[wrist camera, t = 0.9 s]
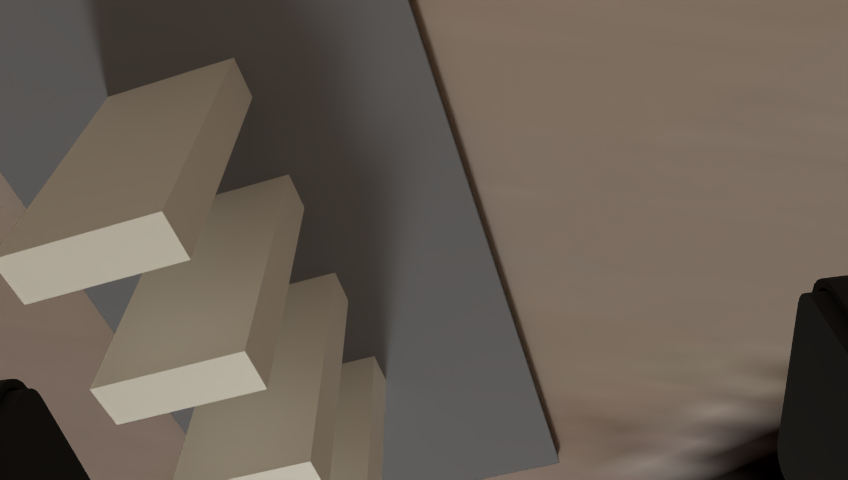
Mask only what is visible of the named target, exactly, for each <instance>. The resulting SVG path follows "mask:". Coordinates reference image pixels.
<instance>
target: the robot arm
mask: <svg viewBox="0 0 848 480" xmlns="http://www.w3.org/2000/svg"><path fill="white" fill-rule="evenodd" d="M777 450H778V459H779V464H780V467H781V471H782V473H783V476H784V478H785V480H848V275H847V276H839V277H830V278H822V279H819V280H817V281H816V283H815V284H814V287H813V291H812V292H811V293H804V294H802V295H801V296H800V298H799V302H798V308H797V315H796V321H795V328H794V335H793V342H792V349H791V356H790V362H789V369H788V376H787V383H786V390H785V396H784V403H783V410H782V417H781V424H780V431H779V437H778V446H777ZM0 480H90V478H89V477H88V475H87V473H86V472H85V470H84V468H83V467H82V465H81V463H80V461H79V460H78V458H77V456H76V455H75V453H74V451H73V450H72V448H71V446H70V445H69V443H68V441H67V440H66V438H65V436H64V434H63V433H62V431H61V429H60V428H59V426H58V424H57V423H56V421H55V419H54V418H53V416H52V414H51V413H50V411H49V409H48V407H47V406H46V404H45V402H44V401H43V399H42V397H41V396H40V394H39V393H38V392H37V391H36V390H34V389H28V388H27V387H26V386H25V385H24V383H23V382H21V381H19V380H17V379H7V380H0Z"/></svg>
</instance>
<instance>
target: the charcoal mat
mask: <svg viewBox="0 0 848 480" xmlns="http://www.w3.org/2000/svg"><path fill="white" fill-rule="evenodd" d="M231 58H234V59H235V61H236V63H237V65H238V68H239V70H240V72H241V74H242V76H243V78H244V80H245V82H246V85H247V87H248V89H249V91H250V93H251V95H252V100H251V103H250V105H249V108H248V111H247V113H246V116H245V118H244V121H243V124H242V126H241V129H240V132H239V134H238V137H237V139H236V142H235V145H234V147H233V150H232V153H231V155H230V158H229V160H228V163H227V166H226V168H225V171H224V174H223V176H222V179H221V182H220V184H219V187H218V189H217V192H216V195H218V194H221V193H225V192H228V191H232V190H236V189H239V188H243V187H246V186H250V185H253V184H257V183H260V182H264V181H267V180H271V179H274V178H278V177H281V176H285V175H288V174H289V176H290V178H291V180H292V182H293V184H294V186H295V188H296V191H297V193H298V195H299V197H300V199H301V201H302V203H303V205H304V212H303V217H302V222H301V227H300V232H299V237H298V242H297V247H296V252H295V256H294V261H293V266H292V271H291V276H290V281H289V284H293V283H296V282H300V281H304V280H308V279H312V278H316V277H320V276H323V275H327V274H331V273H336V275H337V278H338V280H339V282H340V284H341V286H342V288H343V290H344V292H345V295H346V297H347V299H348V309H347V318H346V328H345V338H344V347H343V357H342V364H343V363H347V362H352V361H356V360H360V359H364V358H368V357H372V356H375V358H376V360H377V362H378V365H379V367H380V369H381V371H382V373H383V375H384V377H385V379H386V390H385V415H384V440H383V465H382V480H479V479H484V478H489V477H494V476H498V475H503V474H508V473H513V472H518V471H522V470H527V469H532V468H537V467H541V466H546V465H551V464H556V463H559V458H558V453H557V450H556V447H555V444H554V441H553V438H552V435H551V432H550V429H549V426H548V423H547V420H546V417H545V414H544V410H543V407H542V404H541V401H540V398H539V395H538V392H537V389H536V386H535V383H534V380H533V377H532V374H531V371H530V368H529V365H528V361H527V358H526V355H525V352H524V349H523V346H522V343H521V340H520V337H519V334H518V331H517V328H516V325H515V322H514V319H513V316H512V312H511V309H510V306H509V303H508V300H507V297H506V294H505V291H504V288H503V285H502V282H501V279H500V276H499V273H498V270H497V266H496V263H495V260H494V257H493V254H492V251H491V248H490V245H489V242H488V239H487V236H486V233H485V230H484V227H483V224H482V221H481V217H480V214H479V211H478V208H477V205H476V202H475V199H474V196H473V193H472V190H471V187H470V184H469V181H468V178H467V175H466V172H465V168H464V165H463V162H462V159H461V156H460V153H459V150H458V147H457V144H456V141H455V138H454V135H453V132H452V129H451V126H450V123H449V119H448V116H447V113H446V110H445V107H444V104H443V101H442V98H441V95H440V92H439V89H438V86H437V83H436V80H435V77H434V73H433V70H432V67H431V64H430V61H429V58H428V55H427V52H426V49H425V46H424V43H423V40H422V37H421V34H420V31H419V28H418V24H417V21H416V18H415V15H414V12H413V9H412V6H411V3H410V0H0V172H1V173H2V174H3V176H4V177H5V179H6V180H7V182H8V183H9V184H10V186H11V187H12V189H13V190H14V191H15V193H16V194H17V196H18V197H19V199H20V200H21V201H22V203H23V204H24V206H25V207H26V208H28V207H29V205H30V204H31V203H32V201H33V200H34V198H35V197H36V196H37V194H38V193H39V191H40V190H41V189H42V187H43V186H44V185H45V183H46V182H47V180H48V179H49V178H50V176H51V175H52V173H53V172H54V171H55V169H56V168H57V167H58V165H59V164H60V162H61V161H62V160H63V158H64V157H65V155H66V154H67V153H68V151H69V150H70V149H71V147H72V146H73V144H74V143H75V142H76V140H77V139H78V137H79V136H80V135H81V133H82V132H83V131H84V129H85V128H86V126H87V125H88V124H89V122H90V121H91V119H92V118H93V117H94V115H95V114H96V112H97V111H98V110H99V108H100V107H101V106H102V104H103V103H104V101H105V100H106V99H107V97H109V96H112V95H116V94H119V93H122V92H125V91H128V90H132V89H135V88H138V87H141V86H144V85H148V84H151V83H154V82H157V81H160V80H164V79H167V78H170V77H173V76H176V75H180V74H183V73H186V72H189V71H192V70H196V69H199V68H202V67H205V66H208V65H212V64H215V63H218V62H221V61H224V60H228V59H231ZM141 275H142V273H140V274H137V275H133V276H129V277H126V278H122V279H118V280H114V281H111V282H107V283H103V284H100V285H96V286H92V287H89V288H85V289H84V291H85V292H86V294H87V295H88V296H89V298H90V299H91V301H92V302H93V303H94V305H95V306H96V308H97V309H98V311H99V312H100V313H101V315H102V316H103V318H104V319H105V320H106V322H107V323H108V325H109V326H110V328H111V329H112V330H113V332H114V333H116V330H117V328H118V326H119V324H120V322H121V319H122V317H123V315H124V313H125V310H126V308H127V306H128V304H129V302H130V299H131V297H132V295H133V293H134V291H135V288H136V286H137V284H138V282H139V279H140V277H141ZM194 407H195V406H194ZM194 407H190V408H186V409H182V410H178V411H173V412H170V413H171V414H172V415H173V417H174V418H175V420H176V421H177V423H178V424H179V425H180V427H181V428H182V430H183V431H184V433H185V434H187V431H188V427H189V424H190V421H191V417H192V414H193V411H194Z"/></svg>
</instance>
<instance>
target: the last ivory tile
mask: <svg viewBox="0 0 848 480" xmlns="http://www.w3.org/2000/svg"><path fill="white" fill-rule="evenodd" d="M251 100H252V95H251V93H250V91H249V89H248V87H247V85H246V82H245V80H244V78H243V76H242V74H241V72H240V70H239V68H238V65H237V63H236V61H235V59H234V58H231V59H228V60H224V61H221V62H218V63H215V64H212V65H208V66H205V67H202V68H199V69H196V70H192V71H189V72H186V73H183V74H180V75H176V76H173V77H170V78H167V79H164V80H160V81H157V82H154V83H151V84H148V85H144V86H141V87H138V88H135V89H132V90H128V91H125V92H122V93H119V94H116V95H112V96H109V97H107V99H106V100H105V101H104V103H103V104H102V106H101V107H100V108H99V110H98V111H97V112H96V114H95V115H94V117H93V118H92V119H91V121H90V122H89V124H88V125H87V126H86V128H85V129H84V131H83V132H82V133H81V135H80V136H79V137H78V139H77V140H76V142H75V143H74V144H73V146H72V147H71V149H70V150H69V151H68V153H67V154H66V155H65V157H64V158H63V160H62V161H61V162H60V164H59V165H58V167H57V168H56V169H55V171H54V172H53V173H52V175H51V176H50V178H49V179H48V180H47V182H46V183H45V185H44V186H43V187H42V189H41V190H40V191H39V193H38V194H37V196H36V197H35V198H34V200H33V201H32V203H31V204H30V205H29V207H28V208H27V209H26V211H25V212H24V214H23V215H22V216H21V218H20V219H19V221H18V222H17V223H16V225H15V226H14V227H13V229H12V230H11V232H10V233H9V234H8V236H7V237H6V239H5V240H4V241H3V243H2V244H1V246H0V273H1V275H2V276H3V277H4V279H5V280H6V281H7V283H8V284H9V285H10V286H11V288H12V289H13V290H14V292H15V293H16V294H17V296H18V297H19V298H20V299H21V301H22V302H23V303H24V305H26V304H30V303H33V302H37V301H41V300H44V299H48V298H52V297H55V296H59V295H63V294H67V293H70V292H74V291H78V290H81V289H85V288H89V287H92V286H96V285H100V284H103V283H107V282H111V281H114V280H118V279H122V278H126V277H129V276H133V275H137V274H140V273H144V272H148V271H151V270H155V269H159V268H162V267H166V266H170V265H174V264H177V263H181V262H185V261H188V260H191V258H192V255H193V253H194V250H195V247H196V245H197V242H198V239H199V237H200V234H201V231H202V229H203V226H204V224H205V221H206V218H207V216H208V213H209V210H210V208H211V205H212V203H213V200H214V197H215V195H216V192H217V189H218V187H219V184H220V182H221V179H222V176H223V174H224V171H225V168H226V166H227V163H228V160H229V158H230V155H231V153H232V150H233V147H234V145H235V142H236V139H237V137H238V134H239V132H240V129H241V126H242V124H243V121H244V118H245V116H246V113H247V111H248V108H249V105H250V103H251Z"/></svg>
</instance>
